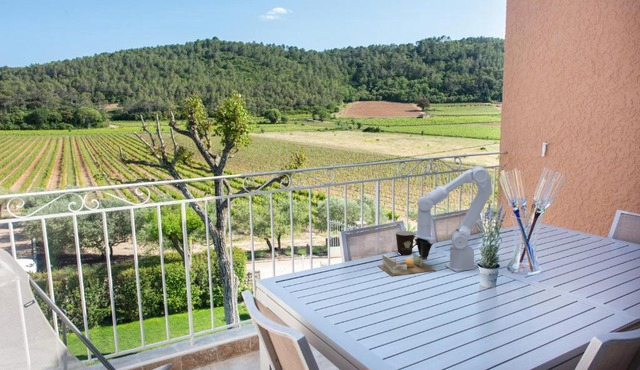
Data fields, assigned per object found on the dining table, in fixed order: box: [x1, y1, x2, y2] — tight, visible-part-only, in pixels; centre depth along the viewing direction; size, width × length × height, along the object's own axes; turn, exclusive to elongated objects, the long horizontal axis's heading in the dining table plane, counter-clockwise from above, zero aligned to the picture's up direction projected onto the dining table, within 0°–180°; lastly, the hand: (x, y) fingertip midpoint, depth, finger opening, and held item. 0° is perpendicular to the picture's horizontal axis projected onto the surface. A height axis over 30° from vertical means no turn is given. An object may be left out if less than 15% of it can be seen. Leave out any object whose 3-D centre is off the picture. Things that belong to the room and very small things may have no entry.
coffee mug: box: [395, 230, 417, 257], centre depth 224 cm, size 12×9×10 cm
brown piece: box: [377, 254, 437, 277], centre depth 203 cm, size 20×14×6 cm
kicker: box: [412, 245, 428, 266], centre depth 205 cm, size 5×6×8 cm
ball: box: [404, 257, 414, 267], centre depth 204 cm, size 4×4×4 cm
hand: (423, 255), depth 206 cm, fingers closed on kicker, 2 cm apart
